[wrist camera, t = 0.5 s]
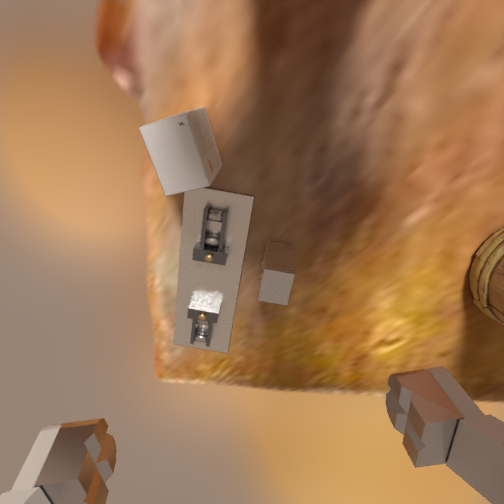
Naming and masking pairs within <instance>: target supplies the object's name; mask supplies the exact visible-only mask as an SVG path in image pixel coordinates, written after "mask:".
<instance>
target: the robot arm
mask: <svg viewBox="0 0 504 504" xmlns="http://www.w3.org/2000/svg"><path fill="white" fill-rule="evenodd" d="M388 385H389V386H390V388H391V390H390V391H389V392H388V393H387V394H386V407H387V412H388V415H389V418H390V420H391V422H392V424H393V426H394V428H395V429H396V430H398V431H399V432H400V433H402V434H403V435H404V438H403V445H404V447H405V449H406V451H407V453H408V455H409V457H410V459H411V460H412V462H413V464H414V466H415V468H416V467H423V466H430V465H437V464H445V463H447V464H446V465H447V466H448V467H449V468H450V469H452V470H453V471H454V472H455V473H456V474H457V475H459V476H460V477H461V478H462V479H463V480H464V481H466V482H467V483H468V484H469V485H470V486H472V487H473V488H474V489H475V490H476V491H478V492H479V493H480V494H481V495H482V496H483V497H485V498H486V499H487V500H488V501H489V502H491V503H492V504H504V422H502V421H501V420H499V419H497V418H495V417H493V416H491V415H484V414H483V413H482V411H481V410H480V409H479V408H478V406H477V405H476V404H475V403H474V402H473V400H472V399H471V398H470V397H469V396H468V394H467V393H466V392H465V391H464V389H463V388H462V387H461V386H460V385H459V383H458V382H457V381H456V380H455V379H454V377H453V376H452V375H451V374H450V373H449V371H448V370H447V369H446V368H444V367H443V366H442V367H435V368H429V369H420V370H414V371H407V372H401V373H395V374H391V375H390V376H389V380H388ZM107 428H108V425H107V423H106V421H105V419H95V420H87V421H79V422H71V423H63V424H56V425H49V426H45V427H44V428H43V429H42V430H41V431H40V433H39V435H38V437H37V439H36V441H35V443H34V445H33V447H32V449H31V451H30V453H29V455H28V457H27V459H26V461H25V463H24V465H23V467H22V469H21V471H20V473H19V475H18V477H17V479H16V481H15V483H14V485H13V487H12V489H11V491H8V492H4V493H3V494H2V495H1V496H0V504H105V503H106V500H107V495H108V492H109V491H108V489H107V486H106V484H105V483H106V481H107V480H108V479H109V478H110V476H111V475H112V474H113V472H114V468H115V463H116V444H115V440H114V438H113V436H111V435H109V434H108V433H106V432H107Z"/></svg>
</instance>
